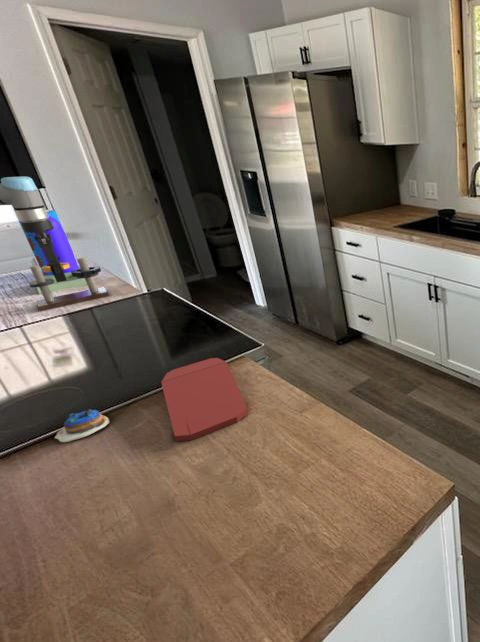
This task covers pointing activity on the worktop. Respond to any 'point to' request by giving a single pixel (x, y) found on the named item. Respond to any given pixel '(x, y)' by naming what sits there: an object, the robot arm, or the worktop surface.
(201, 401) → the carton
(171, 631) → the worktop surface
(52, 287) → the tray
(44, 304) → the rack
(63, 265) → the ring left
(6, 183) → the robot arm
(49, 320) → the worktop surface
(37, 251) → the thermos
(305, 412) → the worktop surface
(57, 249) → the bottle
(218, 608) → the worktop surface
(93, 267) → the ring right
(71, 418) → the dessert
